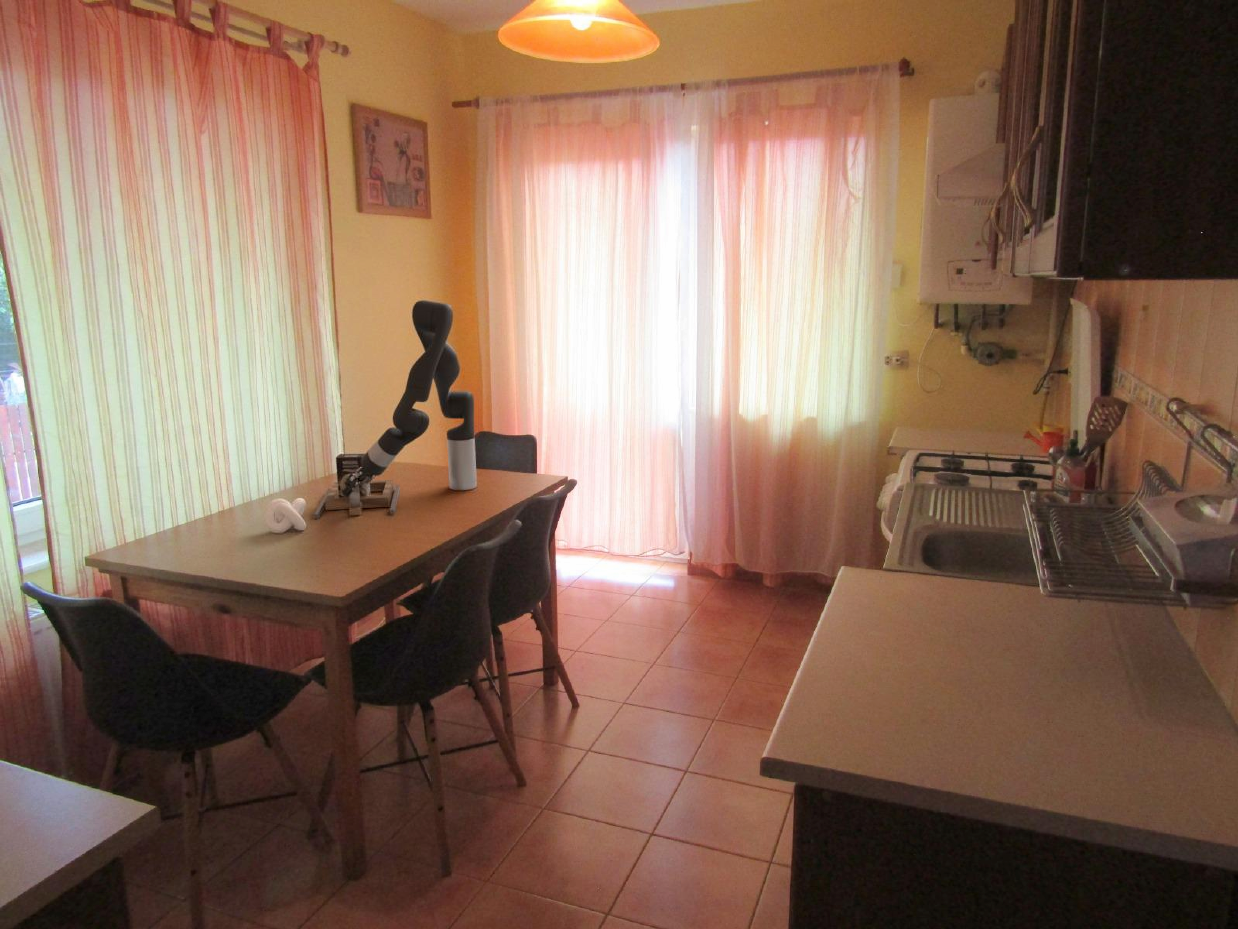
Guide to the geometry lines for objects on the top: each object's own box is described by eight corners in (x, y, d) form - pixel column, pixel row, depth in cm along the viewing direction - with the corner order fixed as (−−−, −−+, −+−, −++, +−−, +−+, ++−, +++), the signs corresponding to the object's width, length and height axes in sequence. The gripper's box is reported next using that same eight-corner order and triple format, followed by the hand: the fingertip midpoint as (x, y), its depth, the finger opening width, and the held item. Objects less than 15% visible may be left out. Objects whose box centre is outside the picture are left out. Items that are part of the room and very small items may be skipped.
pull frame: (335, 491, 292) (332, 456, 289) (393, 488, 295) (391, 453, 292) (322, 517, 261) (318, 478, 258) (386, 513, 264) (384, 475, 262)
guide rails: (328, 493, 290) (328, 488, 290) (399, 489, 295) (399, 485, 294) (314, 519, 260) (313, 514, 259) (394, 514, 264) (393, 509, 264)
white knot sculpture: (262, 538, 242) (259, 507, 240) (267, 526, 253) (264, 496, 251) (305, 534, 245) (302, 504, 243) (308, 523, 256) (305, 493, 254)
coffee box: (338, 507, 273) (334, 457, 269) (342, 502, 279) (339, 453, 275) (368, 506, 274) (364, 456, 270) (371, 501, 280) (368, 452, 276)
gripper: (384, 443, 265) (354, 479, 271) (357, 452, 252) (325, 489, 258) (401, 461, 264) (369, 496, 271) (374, 471, 251) (342, 508, 258)
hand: (348, 493), depth 264 cm, fingers closed on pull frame, 3 cm apart
